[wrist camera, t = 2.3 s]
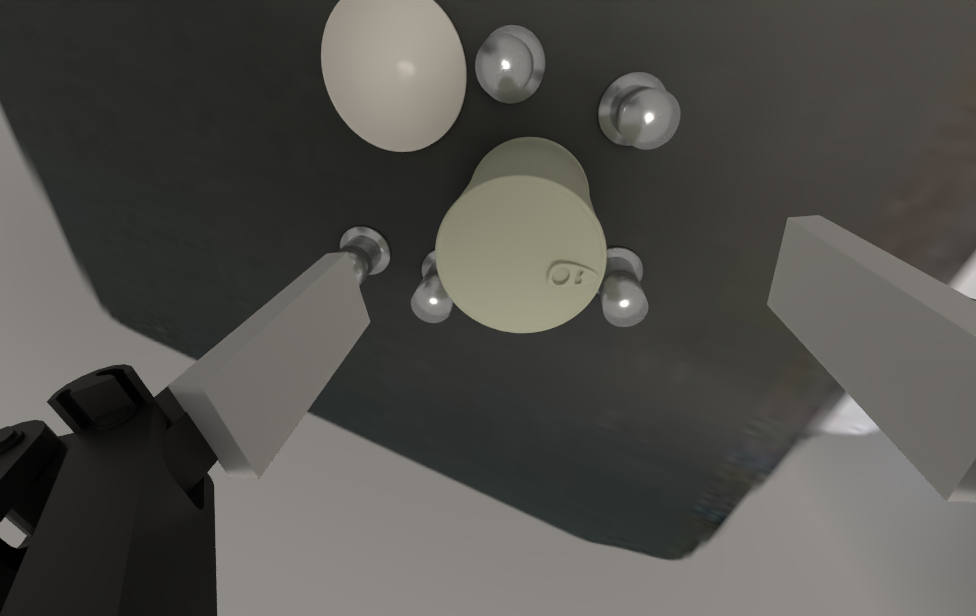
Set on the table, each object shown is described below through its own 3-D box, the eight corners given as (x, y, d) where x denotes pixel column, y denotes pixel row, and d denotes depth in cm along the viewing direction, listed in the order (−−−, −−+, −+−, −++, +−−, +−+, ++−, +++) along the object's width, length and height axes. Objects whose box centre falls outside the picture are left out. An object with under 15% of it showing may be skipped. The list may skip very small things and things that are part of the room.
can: (571, 265, 34) (581, 353, 23) (462, 244, 34) (425, 322, 24) (604, 149, 29) (635, 196, 19) (477, 125, 29) (438, 159, 19)
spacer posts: (353, 292, 38) (323, 327, 33) (289, 43, 28) (231, 39, 23) (638, 295, 34) (653, 335, 29) (680, 11, 24) (715, -2, 19)
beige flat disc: (344, 152, 31) (341, 154, 31) (307, -11, 26) (302, -13, 26) (472, 147, 30) (471, 149, 29) (460, -27, 25) (458, -29, 24)
